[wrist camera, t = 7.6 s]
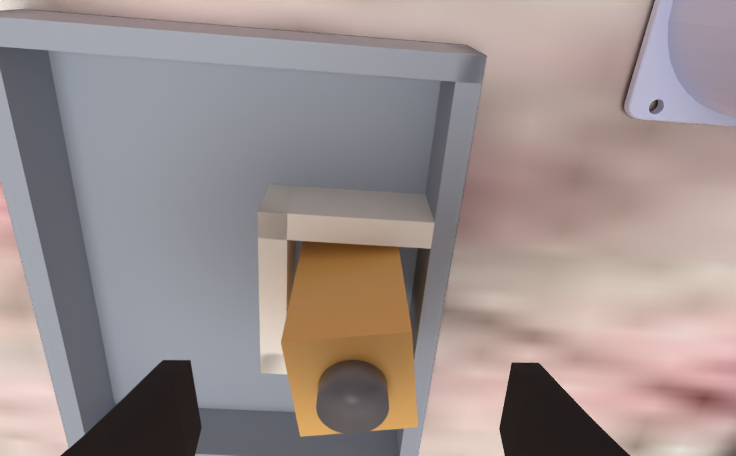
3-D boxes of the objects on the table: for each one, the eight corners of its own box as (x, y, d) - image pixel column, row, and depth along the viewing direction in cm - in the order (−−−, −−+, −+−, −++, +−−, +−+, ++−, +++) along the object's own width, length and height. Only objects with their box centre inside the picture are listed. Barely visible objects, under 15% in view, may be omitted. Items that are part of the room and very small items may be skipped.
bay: (466, 45, 18) (486, 56, 15) (408, 422, 25) (414, 475, 23) (22, 9, 17) (-42, 13, 14) (103, 409, 25) (72, 462, 22)
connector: (394, 222, 20) (414, 350, 13) (400, 297, 22) (421, 449, 15) (305, 230, 20) (276, 362, 13) (317, 305, 22) (297, 458, 15)
